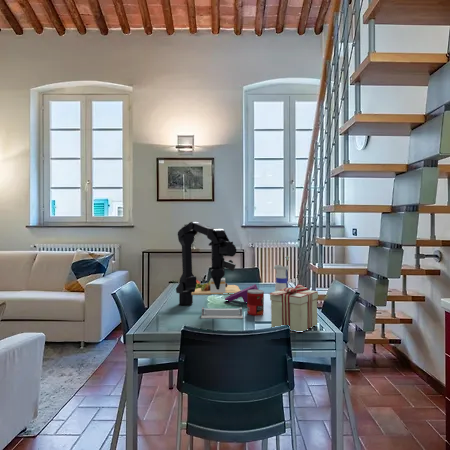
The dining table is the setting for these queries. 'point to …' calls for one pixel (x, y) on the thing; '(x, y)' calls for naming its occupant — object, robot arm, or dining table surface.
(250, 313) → the canned food
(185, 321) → the dining table surface
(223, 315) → the light grey long base
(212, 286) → the grey slotted block
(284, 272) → the water bottle
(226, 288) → the cutting board
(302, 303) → the gift box
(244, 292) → the mounting bracket
